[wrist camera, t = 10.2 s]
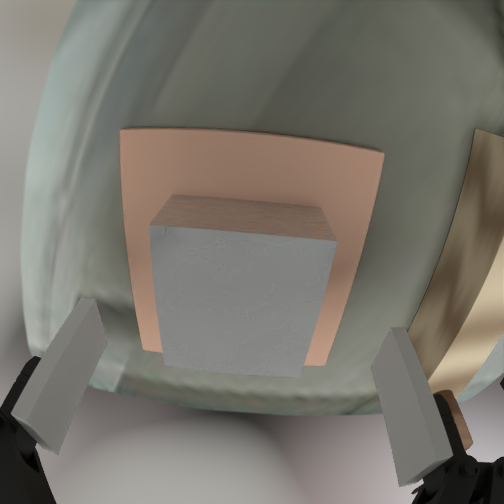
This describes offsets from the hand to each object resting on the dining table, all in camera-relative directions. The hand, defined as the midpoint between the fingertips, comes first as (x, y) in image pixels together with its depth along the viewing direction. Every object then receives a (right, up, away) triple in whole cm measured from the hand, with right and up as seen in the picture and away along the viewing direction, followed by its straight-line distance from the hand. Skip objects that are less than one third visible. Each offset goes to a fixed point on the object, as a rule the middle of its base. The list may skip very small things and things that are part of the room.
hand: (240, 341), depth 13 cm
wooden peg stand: (+16, +2, +7) cm, 17 cm away
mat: (0, +3, +6) cm, 7 cm away
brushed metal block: (0, +3, +5) cm, 6 cm away
